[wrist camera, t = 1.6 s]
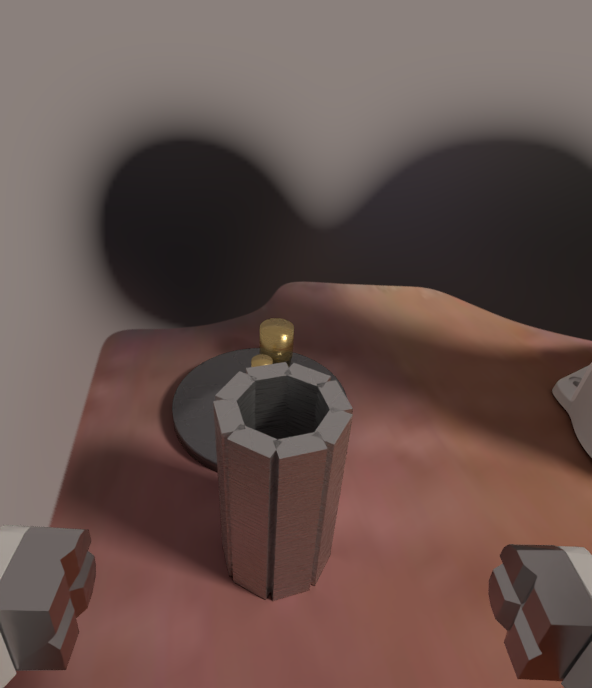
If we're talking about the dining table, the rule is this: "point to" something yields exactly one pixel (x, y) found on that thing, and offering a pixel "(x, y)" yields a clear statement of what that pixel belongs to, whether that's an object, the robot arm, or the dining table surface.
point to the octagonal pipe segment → (279, 474)
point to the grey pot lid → (212, 375)
